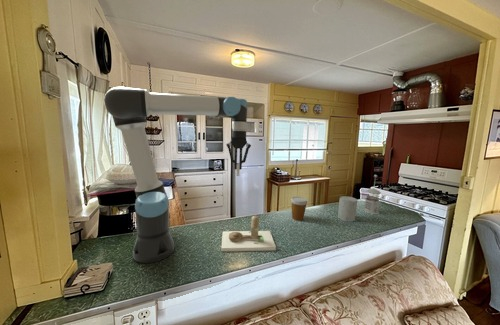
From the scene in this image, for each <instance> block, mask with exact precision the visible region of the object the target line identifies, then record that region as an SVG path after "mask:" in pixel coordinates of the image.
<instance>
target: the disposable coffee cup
mask: <svg viewBox="0 0 500 325" xmlns="http://www.w3.org/2000/svg"><path fill="white" fill-rule="evenodd" d="M290 202H291V217H292V220H294V221H297V222H301V221H303V220H304V218H305V217H304V216H305V214H306V213H305V212H306V209H307V205H308V200H307V198H305V197H302V196H293V197H291V199H290Z"/></svg>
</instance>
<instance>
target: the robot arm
mask: <svg viewBox="0 0 500 325" xmlns="http://www.w3.org/2000/svg"><path fill="white" fill-rule="evenodd" d="M103 104H104V107H105V110H106V111H107V112H108V113H109V114H110V115H111V117H112V120H113V123H114V126H115V128H116V129H118V130H120V132H121V134H122V138H123V140H124V141H123V142H124V144H125V149H126V151H127V155H128V159H129V162H130V164H131V168H132V169H131V170H132V173H133V176H134V178H135V182H136V187H135V189H134V193H135V196H136V199H135V204H134V209H135V219H136V239H135V243H134V246H133V250H132V258H133V259H134V261H135V262H138V263H140V264H153V263H157V262H159V261H162V259H163V260H165V259H166V257H167V258H168V257H170V256H171V255H172V254H173V252H174V250H175V241H174V239H173V237H172V234H171V231H170V208H169V206H170V201H169V197H168V195H167V192H166V190H165V186H164V182H163V181H161V180H160V179H159V177H158V174H157V170H156V167H155V162H154V159H153V156H152V154H153V153H152V151H151V148H150V144H149V140H148V137H147V133H146V129H145V126H147V124H148V121H147V118H148V117H150V116H151V115H167V116H168V115H170V116H171V115H172V116H173V115H175V116H209V117H211V118H227V119H228V118H229V119H231V138H230V142H228V143H226V147H227V149H228V153H229V158H230V161H231V163H233V164H234V170H236V174H235V175H236V177H240V170H242V169H243V166H242V164H243V163H245V162H246V161H247V158H248V153H249V150H250V148H251V147H252V145H251V144H250V143H248V140H247V128H248V127H247V122H248V121H247V120H248V119H247V118H248V117H247V116H248V101H247V100H246V98H237V97H235V96H228V97H224V96H223V97H222V96H221V97H219V96H218V97H217V96H204V95H191V94H175V93H161V92H160V93H159V92H149V91H148V90H147V89H146V88H145V89H143V88H134V87H127V86H115V87H112V88H110V89H108V91H107V92H106V93H105V95H104V98H103ZM245 146H246V147H245ZM231 147H233V148H234V157H233V152H232V148H231ZM244 147H245V151H244V155H243V148H244ZM238 150H239V161H238ZM169 255H170V256H169Z"/></svg>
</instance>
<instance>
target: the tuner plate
mask: <svg viewBox="0 0 500 325" xmlns="http://www.w3.org/2000/svg"><path fill="white" fill-rule="evenodd" d="M232 232H239V233H241V234H242V235H251V230H242V231H241V230H239V231H238V230H237V231H235V230H234V231H232V230H230V231H222V237H221V247H220V248H221V252H256V251H261V252H262V251H277V245H276V243H275V241H274V238H273V236H272V232H271V231H270V230H258V236H262V237H260V239H241V240H240V241H231V240H230V239H229V234H230V233H232Z"/></svg>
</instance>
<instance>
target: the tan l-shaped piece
mask: <svg viewBox="0 0 500 325" xmlns="http://www.w3.org/2000/svg"><path fill="white" fill-rule="evenodd" d="M259 224H260V217H259V216H257V215H253V216H252V217H251V226H250V231H251V235H242V234H241V233H239V232H232V233H230V234H229V239H230V240H231V241H240V240H241V239H260V237H262V236H258V231H259V226H260V225H259Z"/></svg>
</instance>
